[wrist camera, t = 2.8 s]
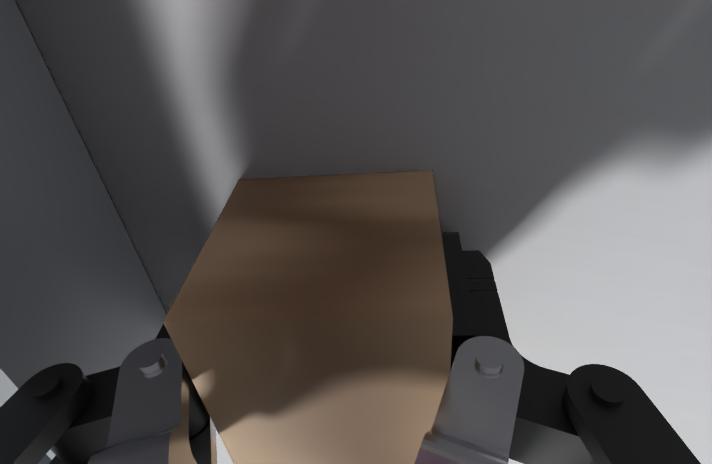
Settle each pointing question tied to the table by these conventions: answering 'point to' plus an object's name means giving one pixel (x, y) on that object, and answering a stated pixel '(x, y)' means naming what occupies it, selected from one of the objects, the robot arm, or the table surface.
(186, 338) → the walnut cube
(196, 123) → the table surface
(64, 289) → the tote
